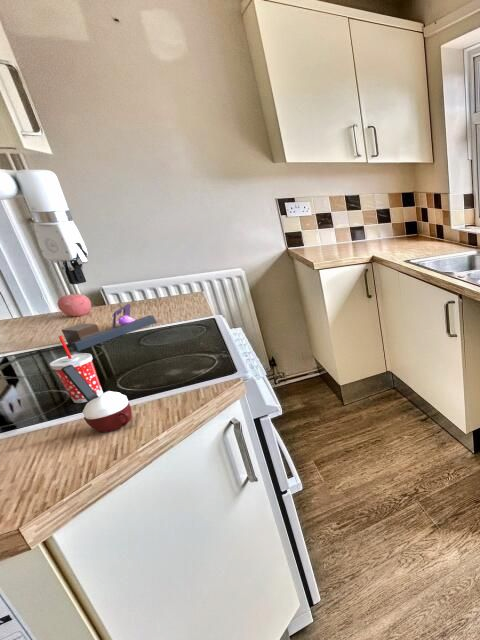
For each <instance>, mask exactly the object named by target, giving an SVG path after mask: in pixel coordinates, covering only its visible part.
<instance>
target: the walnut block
mask: <svg viewBox="0 0 480 640" xmlns="http://www.w3.org/2000/svg"><path fill="white" fill-rule="evenodd" d="M61 332H62V335H63V337H64V339H65V341H66V343H67V346H68V347H72V346H71V344H70V343H72V342H75V341H77V340H80V339H83V338H86V337H89V336H92V335H95V334H98V333H100V329H99V327H98V324H97V323H78V324H75V325H72V326H69V327H66V328H63V329H61Z"/></svg>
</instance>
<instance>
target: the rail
mask: <svg viewBox="0 0 480 640" xmlns="http://www.w3.org/2000/svg"><path fill="white" fill-rule="evenodd" d="M155 323H157V321H156V318H155V316H154V315H147V316H144V317H140V318H137V319H135V321H132V322H129V323H126V324H123V325H121V324H120V325H118V326H116V327H115V328H113V327H111V328H109V329H106V330H104V331H101V332H100V333H98V334H95V335H92V336H89V337H86V338H83V339H80V340H77V341H75V342H72V343H70V344H71V346H70V347H71V348H72V350H73V352H79V351H83V350H86V349H88V348H91V347H94V346H96V345H99V344H102V343H105V342H107V341H110V340H112V339H116V338H118V337H121V336H123V335H126V334H129V333H131V332H134V331H137V330H140V329H142V328H146V327H148V326H151V325H153V324H155Z"/></svg>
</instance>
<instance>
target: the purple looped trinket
mask: <svg viewBox="0 0 480 640" xmlns="http://www.w3.org/2000/svg"><path fill="white" fill-rule="evenodd" d="M121 313H123V314H122V315H121V316H120V317H118V319H117V316H119V314H121ZM111 316H112V317H113V319H112V328H115V327H117V326H116V324H118V325H120V326H121V325H123V324H126V323H129V322H132V321H135V320H136V318H133V317H131V303H127V304H125V305H124V306H122V307H120V308H119V309H117V310H115V311H114V312H111Z"/></svg>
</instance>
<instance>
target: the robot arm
mask: <svg viewBox="0 0 480 640" xmlns="http://www.w3.org/2000/svg"><path fill="white" fill-rule="evenodd" d="M19 198H24V201H25V202H26V205H27V208H28V210H29V212H30V215H31V218H32V220H33V222H34V224H33V225H34V226H33V227H34V232H35V235H36V236H35V237H36V240H37V243H38V247H39V249H40V253H41V255H42V257H43V258H44V259H46V260H47V261H48V260H49V261H51V262H52V263H55V264H58V265H59V266H60V268H61V269H62V271H64V273H65V276H66V278H67V280H68V283H69V284H70V285H80V284H85V283H86V282H87V279H86V276H85V274H84V271H83V268H84V266H83V265H84V264H88V263H89V261H88V259H87V258H88V257H89V252H88V249H87V246H86V243H85V241H84V239H83V237H82V235H81V233H80V231H79V229H78V227H77V225H76V224H75V222H74V218H73V216H72V213H71V210H70V209H69V206H68V203H67V200H66V198H65V194H64V193H63V189H62V187H61V184H60V181H59V178H58V176H57V174H55V172H53V170H52V171H51V170H49V169H19V170H14V169H4V168H0V201H5V200H12V199H19Z"/></svg>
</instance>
